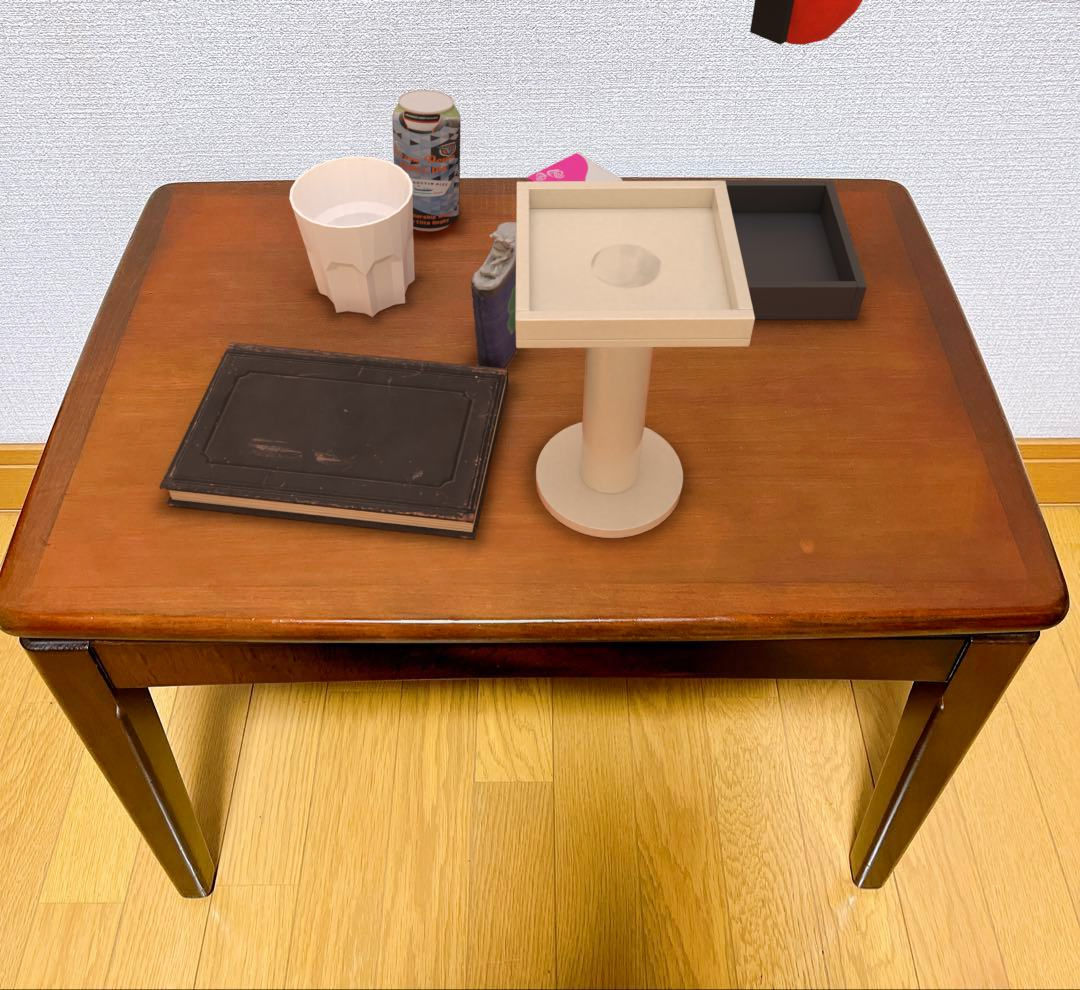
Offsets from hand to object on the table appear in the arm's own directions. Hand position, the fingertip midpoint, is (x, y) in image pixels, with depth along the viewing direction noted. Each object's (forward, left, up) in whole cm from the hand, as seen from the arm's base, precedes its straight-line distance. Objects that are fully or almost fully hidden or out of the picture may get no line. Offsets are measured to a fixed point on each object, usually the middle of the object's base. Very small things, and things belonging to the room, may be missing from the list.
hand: (807, 14), depth 75 cm
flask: (+10, +23, -23) cm, 34 cm away
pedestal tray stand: (-6, +29, -23) cm, 38 cm away
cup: (+24, +26, -23) cm, 42 cm away
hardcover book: (+11, +40, -23) cm, 47 cm away
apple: (0, 0, -2) cm, 2 cm away
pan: (0, 0, -23) cm, 23 cm away
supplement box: (+10, +14, -23) cm, 29 cm away
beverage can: (+27, +15, -23) cm, 39 cm away
